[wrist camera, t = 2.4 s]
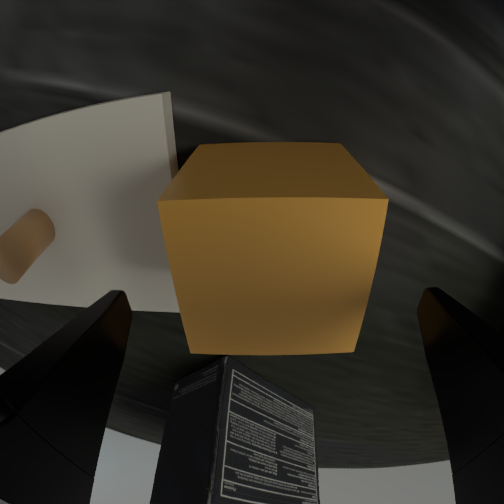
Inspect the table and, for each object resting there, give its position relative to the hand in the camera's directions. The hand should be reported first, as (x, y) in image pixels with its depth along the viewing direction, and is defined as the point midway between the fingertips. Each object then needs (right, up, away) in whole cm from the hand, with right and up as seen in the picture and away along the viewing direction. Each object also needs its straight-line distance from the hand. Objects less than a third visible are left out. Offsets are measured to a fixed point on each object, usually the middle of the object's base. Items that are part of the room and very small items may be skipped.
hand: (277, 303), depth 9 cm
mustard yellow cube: (0, +4, +6) cm, 7 cm away
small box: (-1, -10, +15) cm, 18 cm away
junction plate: (-12, +3, +6) cm, 14 cm away
